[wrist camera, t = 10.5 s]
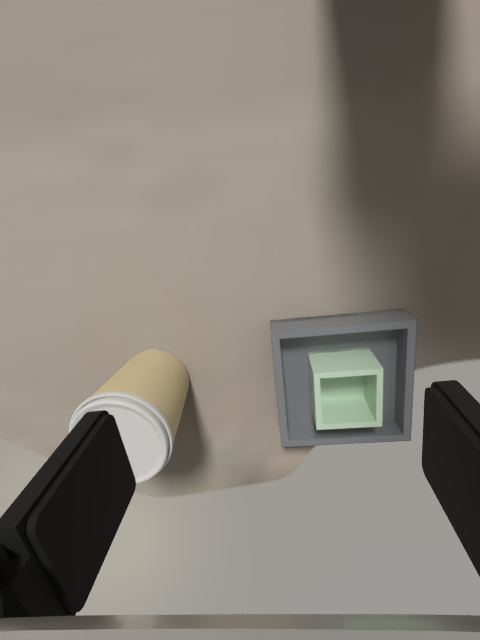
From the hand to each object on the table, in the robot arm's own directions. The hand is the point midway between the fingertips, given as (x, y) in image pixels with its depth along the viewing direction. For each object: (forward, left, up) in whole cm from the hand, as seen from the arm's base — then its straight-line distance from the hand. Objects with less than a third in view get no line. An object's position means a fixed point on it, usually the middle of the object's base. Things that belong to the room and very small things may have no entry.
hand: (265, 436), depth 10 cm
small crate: (+13, +7, -26) cm, 30 cm away
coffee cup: (+12, -14, -27) cm, 33 cm away
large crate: (+13, +7, -27) cm, 31 cm away
